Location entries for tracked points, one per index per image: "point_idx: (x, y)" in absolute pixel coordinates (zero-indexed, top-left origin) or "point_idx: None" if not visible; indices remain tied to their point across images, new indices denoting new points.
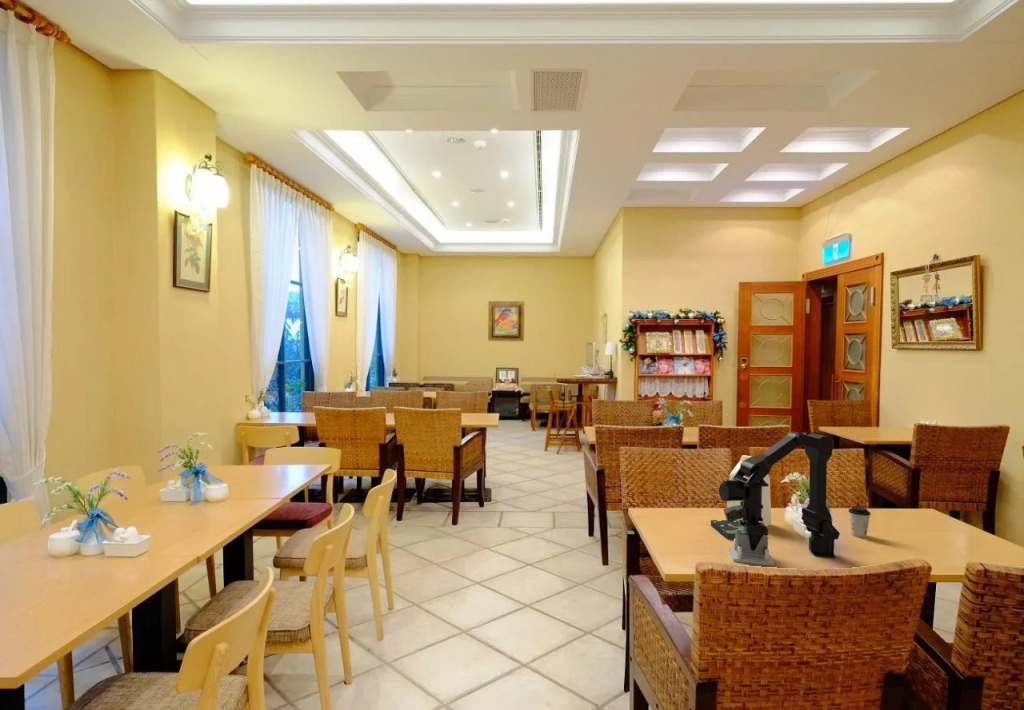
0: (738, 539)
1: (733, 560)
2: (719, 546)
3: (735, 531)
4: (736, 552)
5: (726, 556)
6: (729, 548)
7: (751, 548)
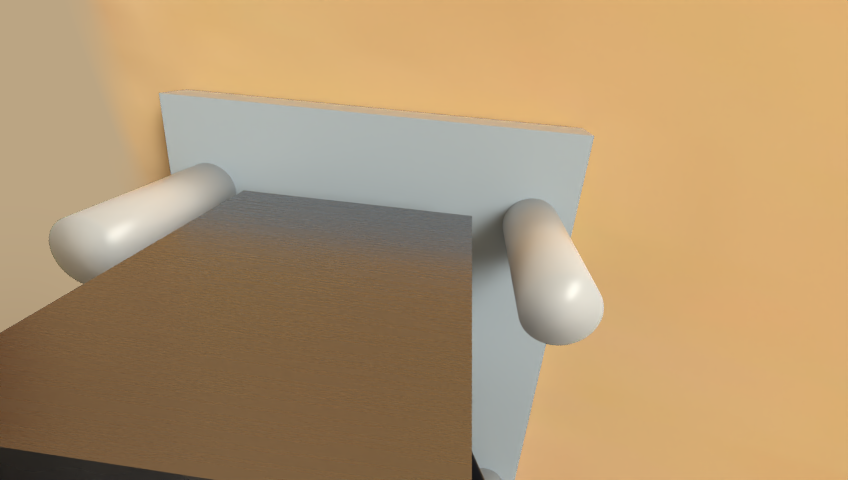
0: (62, 320)
1: (179, 91)
2: (802, 13)
3: (448, 442)
4: (411, 202)
5: (353, 31)
6: (571, 138)
7: None
